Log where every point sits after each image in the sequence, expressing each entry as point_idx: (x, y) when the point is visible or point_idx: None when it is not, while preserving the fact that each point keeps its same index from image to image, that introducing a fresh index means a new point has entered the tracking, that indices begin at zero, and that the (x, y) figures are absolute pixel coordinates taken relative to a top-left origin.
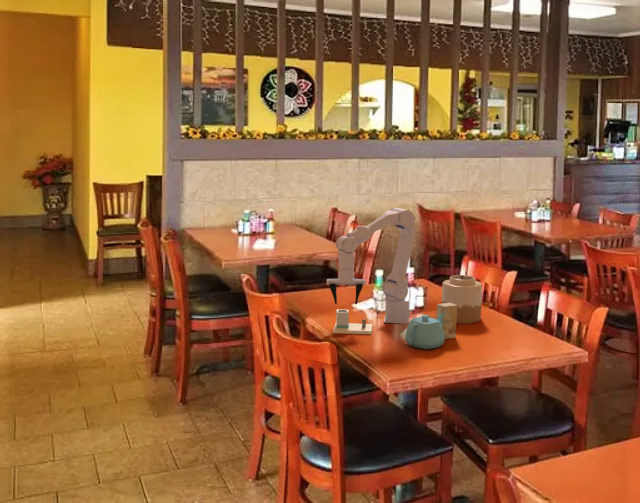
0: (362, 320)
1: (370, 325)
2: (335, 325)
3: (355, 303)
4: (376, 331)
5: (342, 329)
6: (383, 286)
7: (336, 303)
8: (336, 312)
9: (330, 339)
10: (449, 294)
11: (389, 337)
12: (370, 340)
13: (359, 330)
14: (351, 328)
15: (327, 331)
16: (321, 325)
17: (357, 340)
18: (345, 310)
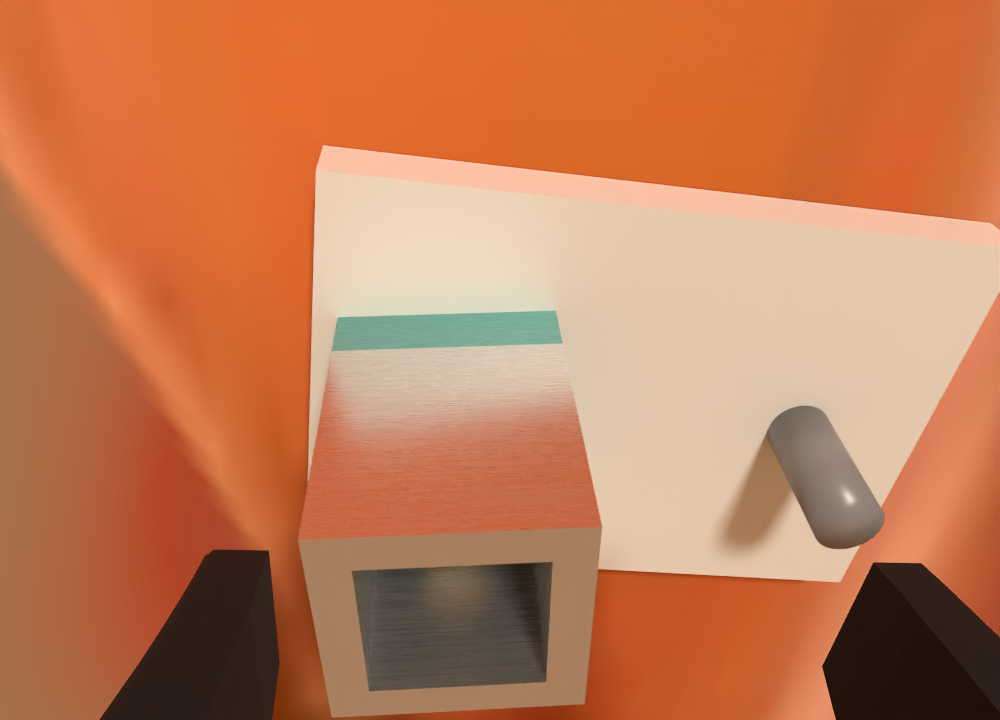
0: (812, 528)
1: (943, 336)
2: (323, 350)
3: (835, 695)
4: (948, 432)
5: None
6: None
7: (272, 685)
8: (310, 503)
9: (304, 704)
10: None
11: (996, 624)
12: (747, 706)
13: (689, 563)
14: None
15: (217, 454)
16: (19, 118)
17: (607, 713)
18: (528, 549)
